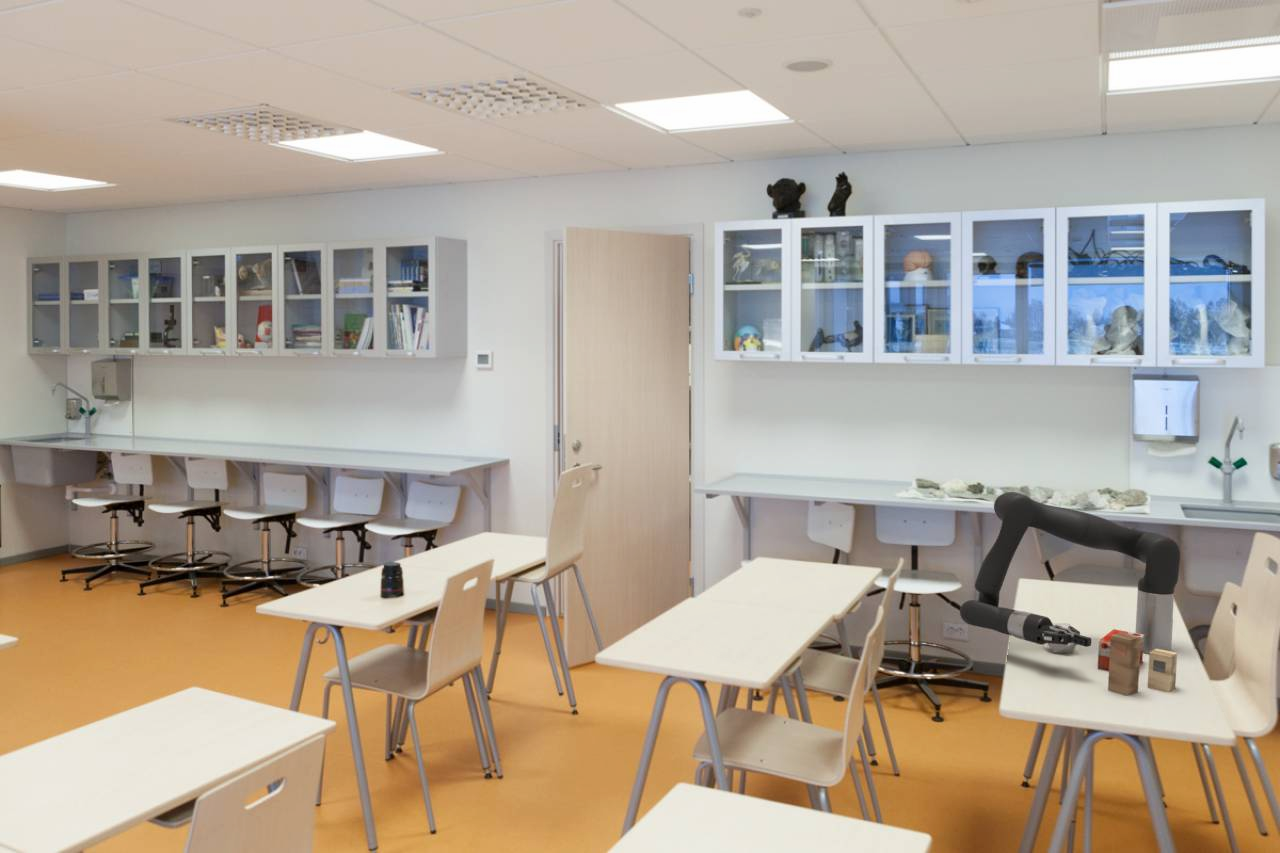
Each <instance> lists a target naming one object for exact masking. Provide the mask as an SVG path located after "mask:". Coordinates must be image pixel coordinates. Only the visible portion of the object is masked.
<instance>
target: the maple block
mask: <svg viewBox="0 0 1280 853" xmlns="http://www.w3.org/2000/svg"><path fill="white" fill-rule="evenodd" d="M1148 655H1149V656H1148V671H1147V672H1148V673H1147V689H1154V690H1159V691H1163V692H1167V693H1170V692H1171V691H1172V690H1174V689H1175V688H1176V682H1177V681H1176V680H1177V665H1178V663H1177V662H1178V652H1174V651H1171V652H1170V651H1166V650H1161V649H1155V650H1153V651H1151V652H1150V653H1148Z"/></svg>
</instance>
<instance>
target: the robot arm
mask: <svg viewBox="0 0 1280 853" xmlns="http://www.w3.org/2000/svg"><path fill="white" fill-rule="evenodd" d="M993 503H994V504H993V509H994V510H993V511H994V513H995V515H996V516H997V518H998V519H999V520H1000V521H1001V526H1000V531H999V533H998V536H997V538H996V539H995V542H994V543H993V545H992V546H991V548H990V550H989V551H988V552H987V554H986V555H985V558H983V561H982V563H981V565H980V569H979V571H978V574H977V577H976V580H975V583H974V588H975V590H976V591H977V592H978V600H975V599H969V600H967V601H965V602H963V603H962V604H961V606H960V608H959V615H960V618H961V620H962V621H963V622H964V623H966V624H967V625H969V626H973V627H979V628H984V629H987V630H988V629H989V630H992V631H995V632H998V633H1001V634H1005V635H1008V636H1011V637H1014V638H1017V639H1019V640H1023V641H1026V642H1030V643H1034V644H1037V645H1046V644H1047V643H1053V644H1064V645H1068V643H1069V644H1074V643H1075V644H1077V645H1078V646H1081V647H1086V648H1088V647H1091V646H1092V638H1091V637H1089V636H1086V635H1082V634H1081V631H1080V630H1078V629H1077V628H1075V627H1073V626H1072V625H1071V626H1069V627H1068V629H1067V628H1064V627H1062V626H1060V625H1055V626H1053V624H1052V623H1053V622H1052V621H1051V619H1050V618H1049V617H1048V616H1044V615H1040V614H1036V613H1032V612H1028V611H1025V610H1024V611H1021V610H1016V609H1012V608H1009V607H1008V608H1007V607H1001V606H999V603H1000V593H1001V590H1002V587H1003V584H1004V582H1005V580H1006V576H1007V573H1008V572H1009V571H1008V570H1009V568H1010V565H1011V563H1012V561H1013V558H1014V555H1015V553H1016V551H1017V549H1018V548H1019V545H1020V543H1021V542H1022V539H1023V537H1024V535H1025V534H1026V533H1027V530H1028V528H1034V529H1037V530H1040V531H1042V532H1046V533H1048V534H1050V535H1052V536H1054V537H1056V538H1059V539H1061V540H1064V541H1067V542H1068V543H1069V542H1070V543H1073V544H1076V545H1079V546H1083V547H1086V548H1090V549H1094V550H1101V551H1102V550H1103V551H1112V552H1118V553H1120V554H1123V555H1126V556H1129V557H1131V558H1133V559H1135V560H1139V561H1140V562H1142V563H1144V564H1145V570H1144V571H1145V572H1144V575H1143V577H1141V578H1139V579H1138V581H1137V595H1136V596H1137V599H1136V615H1135V617H1136V619H1135V620H1136V621H1135V632H1134V633H1137V634H1143V635H1144V647H1143V654H1144V653H1145V654H1149V653H1150V652H1151V651H1153V650H1155V649H1161V650H1166V651H1170V652H1172V646H1173V645H1172V643H1173V642H1172V640H1173V625H1174V624H1173V623H1174V619H1173V618H1174V616H1173V615H1174V604H1175V603H1174V600H1175V598H1174V597H1175V588H1176V586H1177V584H1178V581H1179V575H1180V574H1179V573H1180V565H1181V550H1180V547H1179V544H1178V543H1177V542H1176V540H1174V539H1172V538H1170V537H1168V536H1165V535H1163V534H1160V533H1157V532H1151V531H1150V532H1149V531H1143V530H1138V529H1133V528H1130V527H1129V528H1128V527H1125V526H1123V525H1119V524H1117V523H1115V522H1113V521H1111V520H1108V519H1106V518H1103V517H1101V516H1099V515H1095V514H1091V513H1089V512H1084V511H1081V510H1075V509H1071V508H1066V507H1061V506H1054V505H1050V504H1045V503H1042V502H1039V501H1036V500H1034V499H1031V497H1030V496H1028V495H1025V494H1023V493H1018V492H1015V491H1009V492H1005V493H1002V494H1000V495H999V496H997V497H996V499H995V500H994V502H993ZM1077 645H1076V646H1077Z"/></svg>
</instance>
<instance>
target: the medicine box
mask: <svg viewBox="0 0 1280 853" xmlns="http://www.w3.org/2000/svg"><path fill="white" fill-rule="evenodd" d="M1120 632H1123V633H1127V634H1131V635H1135V636H1139V637H1141V645H1140V663H1139V666H1141V665H1142V664H1143V658H1144V652H1143V647H1144V635H1143V634H1137V633H1135V632H1131V631H1127V630H1121V629H1115V628H1114V629H1112V630H1111V631H1110V632H1108V633H1106V634H1105V635H1104V636H1103V637H1102V638H1101V639H1098V640H1099V641H1098V654H1097V669H1098V670H1104V671H1108V672H1109V660H1110V641H1111V635H1113V634H1117V633H1120Z"/></svg>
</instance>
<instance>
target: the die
mask: <svg viewBox="0 0 1280 853" xmlns="http://www.w3.org/2000/svg"><path fill="white" fill-rule="evenodd" d="M1052 624H1053V626H1055V625H1060V626H1062V627H1064V628H1067V629H1068V627H1069V626H1072V625H1071V624H1070V623H1060V622H1059V623H1055V622H1054V623H1053V622H1052ZM1046 644H1047V645H1048V646H1049V648H1050V649H1051V651H1052V652H1053V653H1054V654H1073V653H1074V651H1075V648H1076V647H1077V644H1075V643H1074V644H1069V643H1068V645H1064V644H1053V643H1046Z"/></svg>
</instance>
